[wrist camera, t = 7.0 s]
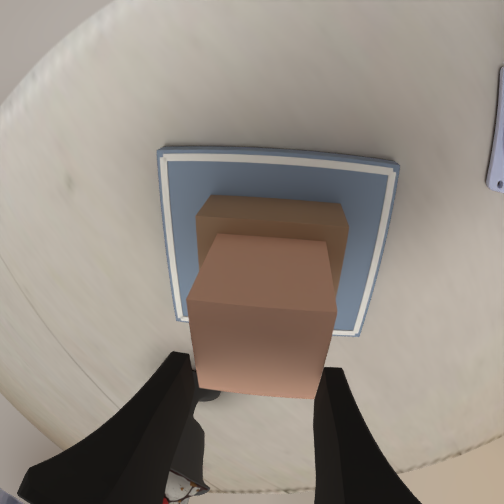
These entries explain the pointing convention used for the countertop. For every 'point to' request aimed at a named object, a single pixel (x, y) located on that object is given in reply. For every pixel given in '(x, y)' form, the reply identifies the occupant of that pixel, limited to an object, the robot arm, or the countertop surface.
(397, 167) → the blueprint board
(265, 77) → the countertop surface
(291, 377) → the terracotta block
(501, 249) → the countertop surface
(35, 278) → the countertop surface
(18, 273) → the countertop surface
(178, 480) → the sundae
